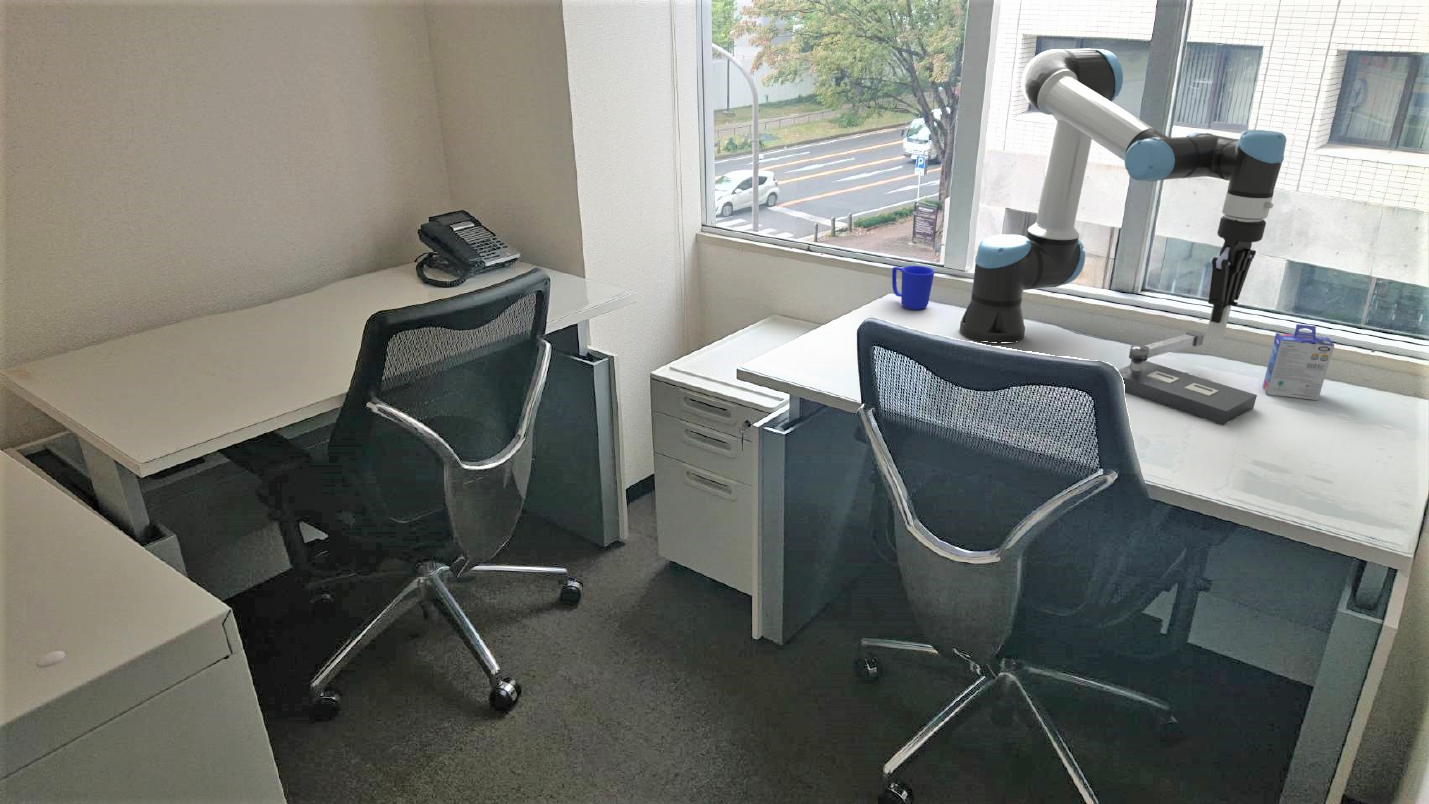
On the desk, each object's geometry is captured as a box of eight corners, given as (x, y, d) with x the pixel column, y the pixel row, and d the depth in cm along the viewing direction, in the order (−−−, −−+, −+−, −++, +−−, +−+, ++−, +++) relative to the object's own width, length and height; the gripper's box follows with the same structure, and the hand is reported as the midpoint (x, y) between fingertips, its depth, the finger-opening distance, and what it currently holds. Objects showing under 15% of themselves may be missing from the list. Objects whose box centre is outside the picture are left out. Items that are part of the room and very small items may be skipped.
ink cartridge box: (1312, 391, 194) (1332, 326, 188) (1319, 401, 189) (1340, 334, 183) (1260, 385, 196) (1278, 320, 190) (1265, 395, 192) (1284, 329, 186)
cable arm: (1139, 363, 193) (1142, 351, 191) (1124, 357, 195) (1127, 346, 194) (1203, 345, 203) (1206, 334, 202) (1188, 340, 206) (1191, 329, 205)
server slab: (1107, 386, 195) (1112, 364, 193) (1139, 372, 202) (1144, 351, 200) (1222, 425, 178) (1229, 401, 175) (1253, 408, 185) (1259, 385, 183)
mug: (900, 296, 250) (904, 260, 246) (936, 307, 242) (940, 270, 238) (880, 302, 245) (883, 266, 241) (916, 313, 237) (920, 276, 233)
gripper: (1249, 226, 165) (1218, 349, 175) (1280, 216, 172) (1249, 335, 182) (1207, 218, 170) (1179, 338, 180) (1239, 209, 178) (1211, 325, 187)
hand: (1214, 336), depth 181 cm, fingers closed
